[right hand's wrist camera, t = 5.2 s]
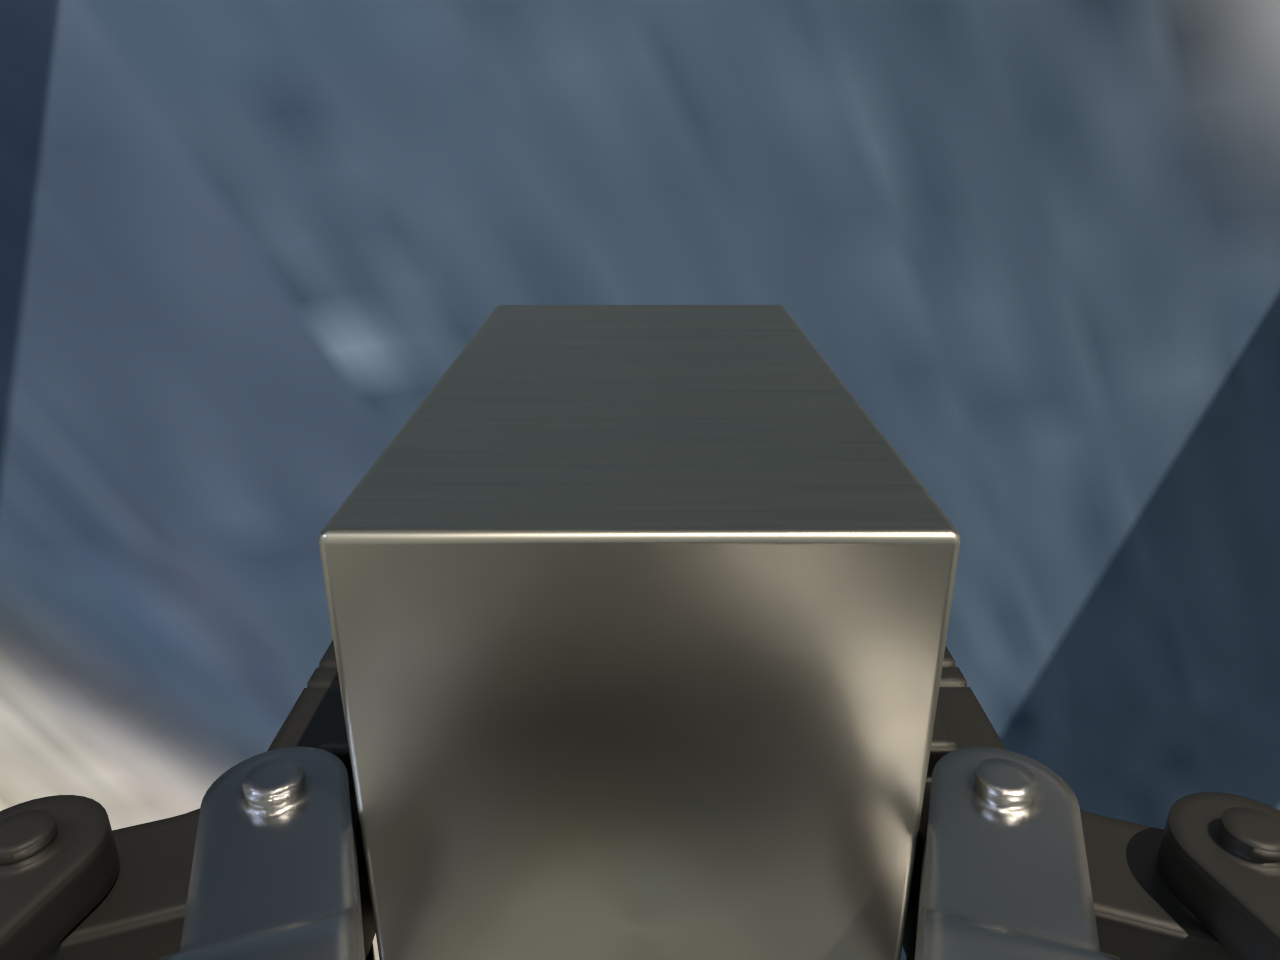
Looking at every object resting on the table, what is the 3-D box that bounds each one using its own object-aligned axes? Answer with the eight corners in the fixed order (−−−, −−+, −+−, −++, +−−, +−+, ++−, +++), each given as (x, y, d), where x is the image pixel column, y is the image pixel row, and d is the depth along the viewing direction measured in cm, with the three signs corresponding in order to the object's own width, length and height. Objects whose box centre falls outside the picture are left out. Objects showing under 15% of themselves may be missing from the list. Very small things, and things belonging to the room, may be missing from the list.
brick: (518, 697, 18) (412, 1204, 9) (495, 304, 15) (312, 533, 7) (761, 697, 18) (867, 1205, 9) (784, 304, 15) (966, 533, 7)
